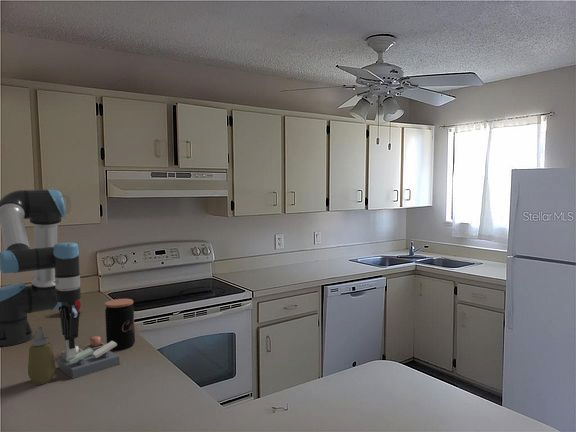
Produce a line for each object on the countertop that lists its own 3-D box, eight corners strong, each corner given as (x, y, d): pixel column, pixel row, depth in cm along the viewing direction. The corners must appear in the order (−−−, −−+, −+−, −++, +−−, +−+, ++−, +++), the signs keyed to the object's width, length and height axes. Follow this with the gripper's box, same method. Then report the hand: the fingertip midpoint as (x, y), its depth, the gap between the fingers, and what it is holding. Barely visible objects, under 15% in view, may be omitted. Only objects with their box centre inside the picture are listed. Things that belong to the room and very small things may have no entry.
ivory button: (66, 357, 156) (65, 347, 156) (76, 354, 159) (76, 344, 159) (69, 359, 154) (69, 350, 154) (80, 356, 157) (80, 347, 156)
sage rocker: (67, 363, 150) (65, 358, 150) (90, 352, 156) (89, 347, 155) (71, 366, 148) (69, 361, 147) (94, 355, 153) (93, 350, 153)
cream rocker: (93, 357, 156) (91, 353, 156) (113, 344, 162) (111, 340, 161) (97, 360, 154) (95, 355, 153) (118, 347, 159) (116, 343, 159)
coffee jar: (125, 351, 171) (123, 305, 170) (101, 349, 173) (99, 304, 172) (140, 341, 181) (138, 299, 180) (116, 340, 183) (115, 298, 182)
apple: (61, 312, 227) (60, 293, 227) (81, 310, 231) (80, 291, 230) (61, 317, 219) (60, 297, 218) (81, 314, 223) (80, 295, 222)
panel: (58, 367, 156) (57, 352, 156) (103, 354, 168) (102, 340, 167) (73, 378, 147) (72, 362, 146) (119, 364, 158) (118, 349, 158)
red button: (88, 346, 162) (88, 337, 162) (98, 344, 165) (98, 335, 164) (92, 349, 160) (92, 339, 159) (102, 346, 162) (102, 337, 162)
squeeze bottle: (61, 377, 147) (59, 325, 146) (41, 388, 140) (38, 332, 139) (43, 374, 150) (40, 323, 149) (22, 385, 143) (19, 330, 141)
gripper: (49, 287, 150) (52, 355, 151) (63, 293, 141) (66, 365, 142) (72, 284, 155) (75, 349, 156) (87, 289, 146) (90, 358, 147)
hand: (71, 357), depth 149 cm, fingers closed
